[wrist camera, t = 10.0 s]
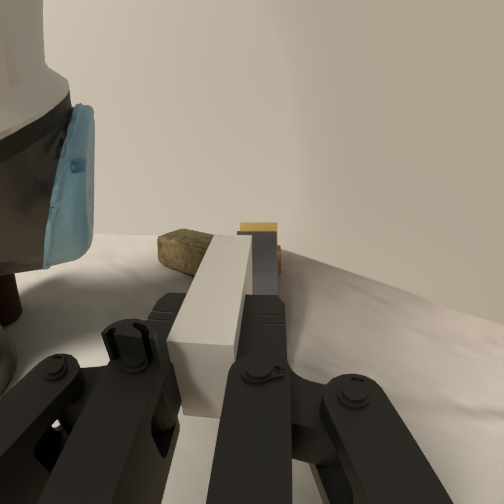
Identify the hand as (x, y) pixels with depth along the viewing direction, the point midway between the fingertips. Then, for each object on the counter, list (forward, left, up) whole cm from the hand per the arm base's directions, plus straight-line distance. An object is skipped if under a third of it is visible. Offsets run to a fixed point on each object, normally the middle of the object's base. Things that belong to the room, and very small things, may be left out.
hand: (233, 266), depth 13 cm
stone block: (+7, +31, -14) cm, 34 cm away
